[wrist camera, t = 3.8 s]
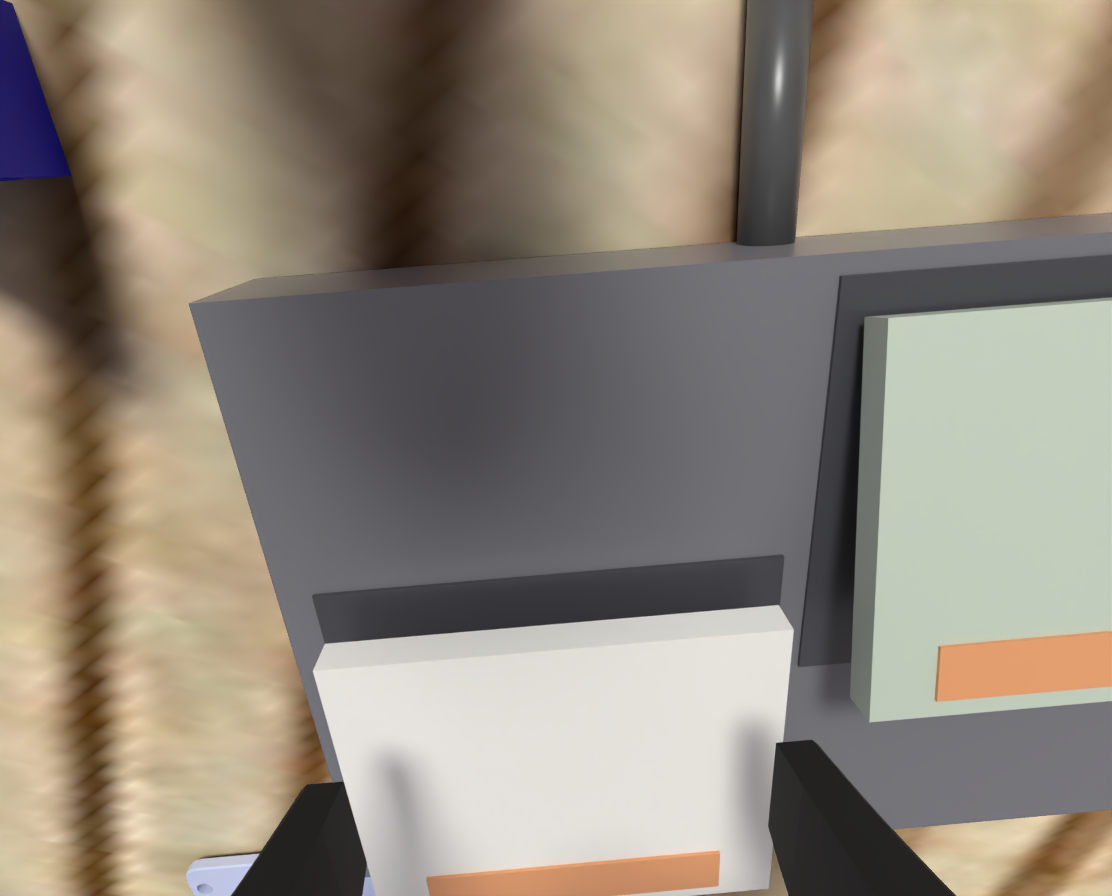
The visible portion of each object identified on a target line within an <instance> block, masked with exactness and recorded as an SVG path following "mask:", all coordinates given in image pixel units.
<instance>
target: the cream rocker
mask: <svg viewBox="0 0 1112 896" xmlns="http://www.w3.org/2000/svg"><path fill="white" fill-rule="evenodd" d="M793 633H794V629H793V628H792V626H791V624H790V623H789V621H788V619H787V618H786V616H785V614H784V613H783V611H782V609H781V608H780V606H779V605H774V606H762V607H750V608H739V609H727V610H715V611H704V612H692V613H680V614H668V615H657V616H645V617H633V618H622V619H610V620H598V621H587V622H575V623H563V624H551V625H540V626H528V627H516V628H505V629H493V630H481V631H470V632H458V633H446V634H434V635H423V636H411V637H399V638H388V639H376V640H364V641H353V642H341V643H329V644H325V645H324V647H323V649H322V651H321V654H320V656H319V658H318V660H317V663H316V665H315V667H314V670H313V673H314V677H315V681H316V684H317V688H318V691H319V695H320V698H321V702H322V706H323V709H324V713H325V716H326V720H327V723H328V727H329V730H330V734H331V738H332V741H333V745H334V748H335V752H336V755H337V759H338V763H339V766H340V770H341V773H342V777H343V780H344V784H345V787H346V791H347V795H348V798H349V802H350V805H351V809H352V812H353V816H354V819H355V823H356V826H357V830H358V833H359V837H360V840H361V844H362V847H363V851H364V854H365V857H366V861H367V866H368V869H369V873H370V877H371V880H372V884H373V887H374V891H375V894H376V896H695V895H706V894H716V893H727V892H738V891H749V890H760V889H769V883H770V872H771V862H772V851H773V842H772V838H771V835H770V831H769V828H768V821H769V810H770V800H771V790H772V779H773V769H774V759H775V748H776V743H780V742H783V737H784V726H785V716H786V706H787V695H788V685H789V674H790V664H791V653H792V643H793Z"/></svg>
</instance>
